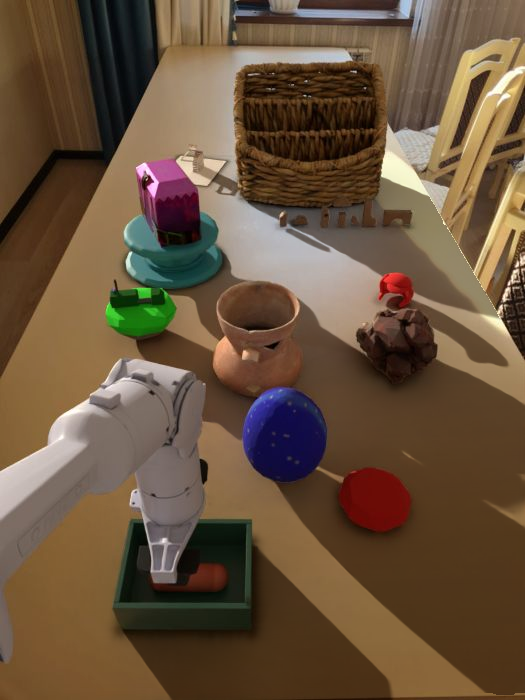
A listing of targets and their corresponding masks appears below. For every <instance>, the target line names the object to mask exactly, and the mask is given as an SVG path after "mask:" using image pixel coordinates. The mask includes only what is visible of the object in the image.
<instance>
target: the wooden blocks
mask: <svg viewBox="0 0 525 700" xmlns="http://www.w3.org/2000/svg"><path fill="white" fill-rule="evenodd" d="M373 204H374V201H373V198H368V199H365V201H363V209H362V214H361V222H360V224H361V227H365V228H366V227H377V219H376V217H374V216H372V211H373ZM333 205H334V206H333ZM333 205H332V206H333V207H352V206H353V204H352V203H351V202H350V201H349V200H348V199H347V198H346V197H345V196H344V195H342V196H341V197H339V198H338V199H337V200H336V201H335V202H334V203H333ZM413 214H414V213H413V210H412V209H384V210H383V216H382V225H383V226H391V224H392V222H393V221H395V220H401V222H402V225H403V226H410V225H411V223H412V218H413ZM330 216H331V215H330V210H329V207H325V206H321V217H320V227H321V229H329V225H330ZM346 221H347V213H346V211H338V214H337V227H338V228H345V227H346ZM278 223H279V227H280V228H287V227H288V211H286V210H285V211H282V212H281V213H279V222H278ZM350 223H351V225H359V220H358V217H357V216H356V215H353V214H351V215H350ZM308 224H309V223H308V219H307V217H306V216H305V215H303V214H301V215H297V216H295V217H294V219H293V225H308Z"/></svg>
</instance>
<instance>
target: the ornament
mask: <svg viewBox="0 0 525 700" xmlns="http://www.w3.org/2000/svg"><path fill="white" fill-rule="evenodd" d="M327 444H328V425H327V420H326V418H325V416H324V413H323V412H322V410H321V408H320V406H319V405H318V404H317V403H316V402H315V401H314V400H313V398H311V397H310V396H308V395H307V394H305V393H304V392H302V391H300V390H298V389H296V388H293V387H277V388H272V389H269V390H267V391H265V392H264V393H262V394H261V395H260V396H259V397H257V399H255V400H254V402H253V403H252V405H251V407H250V409H249V410H248V412H247V415H246V417H245V420H244V423H243V428H242V445H243V451H244V454H245V457H246V459H247V461H248V462H249V464H250V466H251V467H252V469H253V470H255V471H256V472H257V473H258V474H259V475H261V476H262V477H263V478H265V479H268V480H271V481H272V482H276V483H282V484H284V483H295V482H298V481H300V480H304V479H306V478H307V477H308V476H309V475H311V474H313V473H314V471H315V470H316V469H317V468H318V466H320V463H321V462H322V461H323V458H324V455H325V453H326V449H327Z"/></svg>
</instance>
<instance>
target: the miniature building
mask: <svg viewBox="0 0 525 700" xmlns="http://www.w3.org/2000/svg"><path fill="white" fill-rule="evenodd" d="M113 285H114V288H110V291H109V302H108V303H107V305H106V310H105V313H104V315H105V318H106V323H107V326H108V327H109V328H111V329H112V330H114V331H115V332H117V333H118V334H120V335H122V336H124V337H127V338H128V339H132V340H136V341H142V340H146V339H149V338H153V337H156V336H159V335H160V334H162V333H163V332H164V331H165V330H166V328H168V326H169V324H171V322H172V321H173V319H174V318H175V316H176V313H177V306H176V304H175V303H174V300H173V299H172V297H171V295H169V293H168V292H167V291H166V290H164V289H162V288H155V287H132V288H128V289H119V288H118V282H117V279H116V278H114V279H113Z"/></svg>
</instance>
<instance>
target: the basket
mask: <svg viewBox="0 0 525 700" xmlns="http://www.w3.org/2000/svg"><path fill="white" fill-rule="evenodd" d="M233 88H234V90H233V101H234V103H233V109H232V113H233V114H232V115H233V122H234V124H233V128H234V138H235V141H234V154H235V164H236V166H235V169H236V176H237V177H236V178H238V179H237V188H238V189H239V190H238V194H239V196H240V197H241V198H242V199H243V200H245V201H255V202H260V203H263V204H264V203H265V204H273V205H283V206H286V207H289V206H292V207H297V206H299V207H305V208H308V207H310V208H311V207H314V206H315V207H318V208H319V207H322V206H325V207H327V208H330V206H333V207H335V206H334V205H333V203H334V202H335V201H336V200H337V199H338V198H339V197H341V196H342V195H344V196H345V197H346V198H347V199H348V200H349V201H350V202H351V204H355V203H356V204H359V203H362V202H364V201H365V199H368V198H371V199H373V198H376V197H377V196H378V195H379V193H380V187H381V183H380V181H382V179H381V176H382V173H383V172H382V169H383V164H384V158H385V155H386V148H387V132H388V126H389V124H388V122H389V120H388V117H387V116H388V110H387V100H386V98H387V97H386V93H387V92H386V89H385V82H384V73H383V71H382V67H381V65H380V64H378V63H376V62H366V61H361V60H360V61H356V60H346V61H339V62H338V61H337V62H336V61H329V62H327V61H317V62H315V61H312V62H308V63H304V62H302V63H299V62H295V63H294V62H292V63H290V62H281V61H277V62H266V63H265V62H262V63H251V64H245V65H243V66H242V67H240V69H239V70H237V72H235V77H234V84H233Z"/></svg>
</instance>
